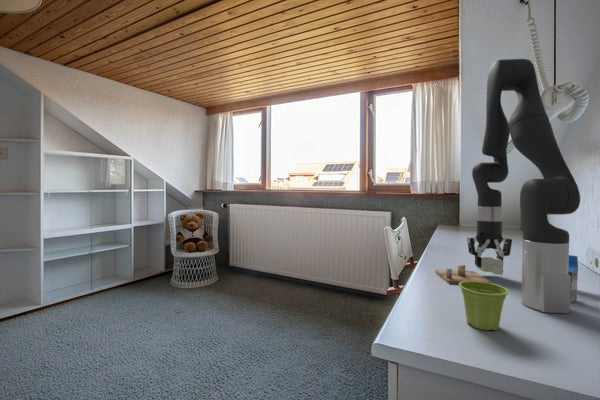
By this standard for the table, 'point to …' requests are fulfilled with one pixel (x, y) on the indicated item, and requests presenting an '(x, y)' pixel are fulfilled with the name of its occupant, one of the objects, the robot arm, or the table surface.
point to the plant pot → (483, 303)
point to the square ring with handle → (491, 265)
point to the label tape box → (573, 276)
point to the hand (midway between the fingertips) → (488, 267)
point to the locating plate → (459, 279)
